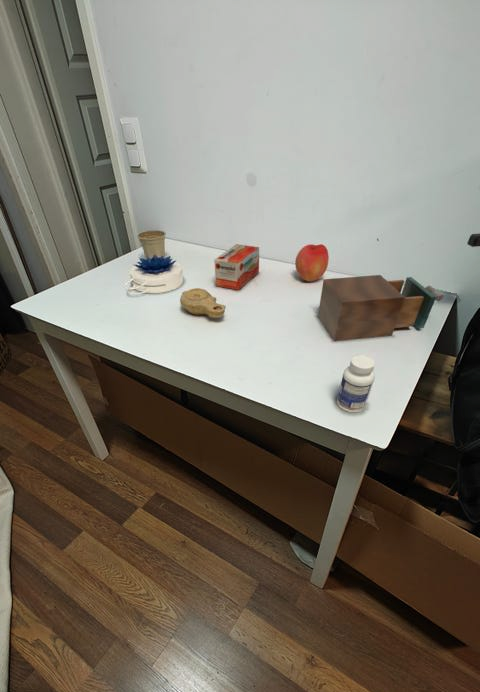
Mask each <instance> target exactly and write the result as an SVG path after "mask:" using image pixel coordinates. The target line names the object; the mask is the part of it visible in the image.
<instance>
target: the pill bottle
mask: <svg viewBox="0 0 480 692" xmlns="http://www.w3.org/2000/svg"><path fill="white" fill-rule="evenodd" d="M375 365H376V362H375V360H374V359H373V358H372V357H370V356H368V355H363V354H359V355H358V354H357V355H355V356H352V357H351V359H350V362H349V365H348V366H347V367H345V368H344V370H343V373H342V378H341V381H340V384H339V385H340V386H339V389H338V393H337V398H336V404H337V405H338V407H339V408H341V410H343V411H345V412H349V413H359V412H362V411H363V410H364V409H365V408H366V405H367V403H368V399H369V396H370V394H371V390H372V388H373V385H374V382H375V377H376V375H375V372H374V368H375Z"/></svg>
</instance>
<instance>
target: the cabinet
mask: <svg viewBox="0 0 480 692" xmlns="http://www.w3.org/2000/svg"><path fill="white" fill-rule="evenodd" d="M322 280H323V281H322V287H321V293H320V300H319V305H318V312H317V317H318V318H319V320H320V322H321V323H322V325H323V326H324V328H325V330H326V332H328V334H329V336H330V337H331V339H332V340H333V341H334V342H339V341H350V340H361V339H372V338H380V337H382V338H383V337H390V336H392V337H393V334H394V331H395V329H396V328H395V325H396V322H397V319H398V316H399V313H400V310H401V307H402V305H403V302H404V299H405V297H404V296H403V295H402V292H401V293H400V292H399V291H398V290H396V289H395V288H394V287H393V286H392V285H391V284H390V283H389V282H388V281H389V280H387V279H385V278H384V277H383V276H382V275H381V274H374V275H372V274H371V275H361V276H360V275H359V276H350V277H348V276H347V277H337V278H336V277H335V278H324V279H322Z"/></svg>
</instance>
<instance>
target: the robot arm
mask: <svg viewBox="0 0 480 692" xmlns="http://www.w3.org/2000/svg"><path fill="white" fill-rule="evenodd" d="M467 245H468V246H470V247H471V248H477V247H480V232H479V233H472V234H470V236H469V238H468V240H467Z"/></svg>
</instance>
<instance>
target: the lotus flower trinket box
mask: <svg viewBox="0 0 480 692" xmlns="http://www.w3.org/2000/svg"><path fill="white" fill-rule="evenodd" d="M146 259H147V260H146ZM183 274H184V273H183V267H182V265H181V264H180V263H178V262H177V260H173V258H172V257H171V255H169V256H167V257H165V259H164V258H163V256H161V257H159V258H158V257H157V256H156V255H154V256H153V258H152V259H150V258H148V257H147V258H146V257H145V258H143V257H142V258H139V261H136V264H133V266H132V267H131V268H130V269H129V276H130V279H129V280H128V281H127V282H125V284H124V288H126V290H125V292H126V293H127V294H129V295H142V294H162V293H168V292H172V291H174V290H176V289H178V288H180V287H181V286H182V284H183V283H184V275H183ZM129 283H132V286H131V287H129V286H127V285H128V284H129ZM129 290H136V291H138V292H131V291H130V292H129Z"/></svg>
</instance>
